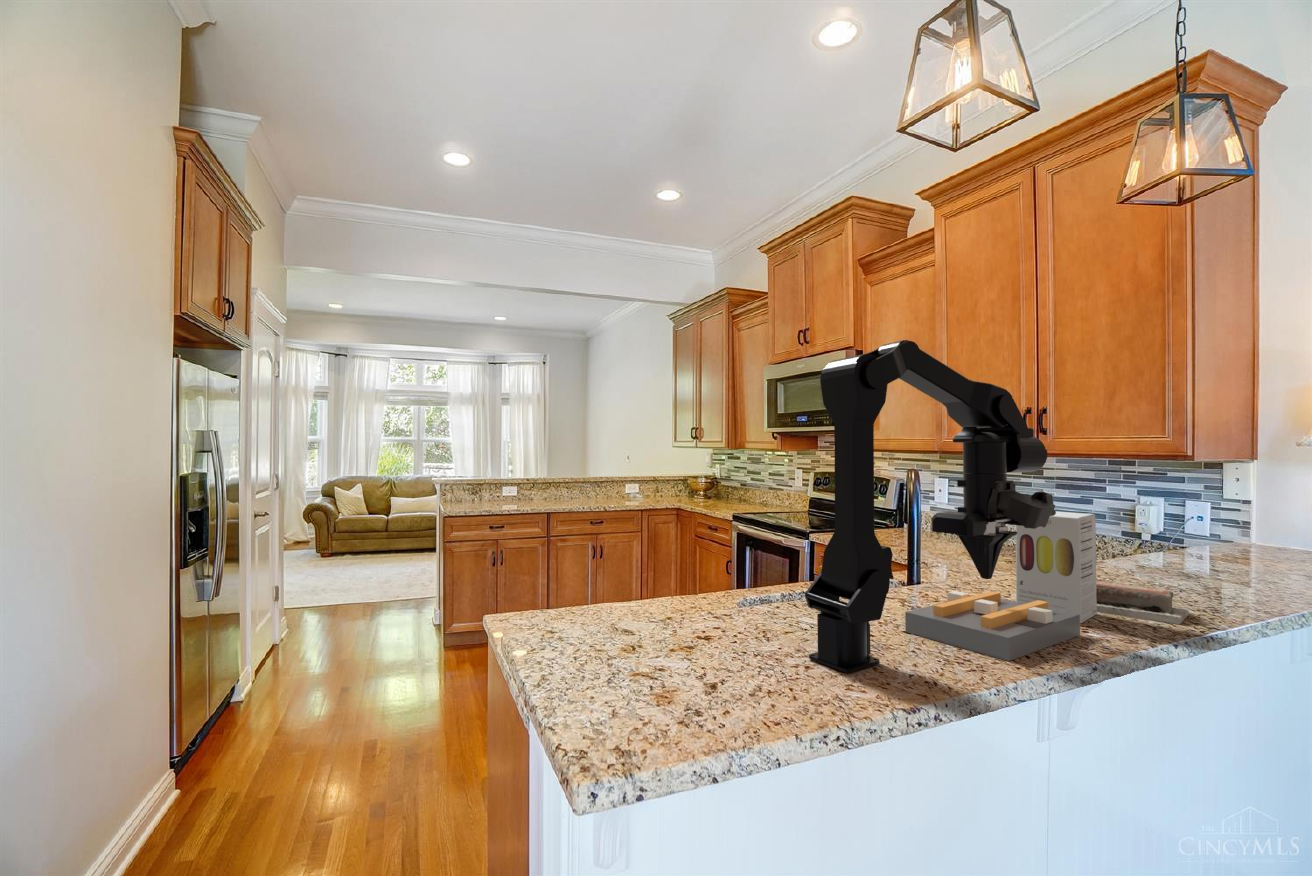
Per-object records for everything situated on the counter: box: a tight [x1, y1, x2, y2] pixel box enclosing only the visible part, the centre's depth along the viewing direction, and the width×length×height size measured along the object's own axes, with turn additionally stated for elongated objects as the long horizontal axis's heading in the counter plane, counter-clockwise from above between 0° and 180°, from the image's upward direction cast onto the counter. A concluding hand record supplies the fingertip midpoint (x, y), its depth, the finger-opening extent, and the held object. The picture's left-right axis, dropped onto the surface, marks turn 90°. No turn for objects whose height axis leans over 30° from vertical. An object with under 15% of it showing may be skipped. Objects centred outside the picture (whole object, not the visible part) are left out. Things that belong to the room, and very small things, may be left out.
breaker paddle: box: [974, 599, 998, 615], centre depth 88 cm, size 2×2×2 cm
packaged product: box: [1096, 579, 1190, 625], centre depth 102 cm, size 18×5×10 cm
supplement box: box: [1015, 510, 1098, 624], centre depth 99 cm, size 10×9×17 cm
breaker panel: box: [904, 590, 1081, 662], centre depth 88 cm, size 20×15×5 cm
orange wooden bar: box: [932, 591, 1002, 617], centre depth 91 cm, size 16×1×1 cm, turn 122°
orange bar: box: [981, 600, 1048, 629], centre depth 85 cm, size 16×1×1 cm, turn 122°
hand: (986, 578), depth 88 cm, fingers closed
